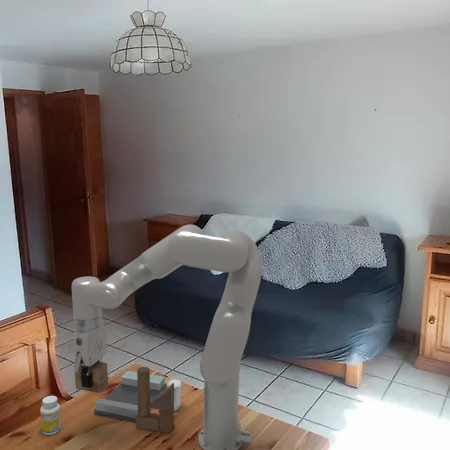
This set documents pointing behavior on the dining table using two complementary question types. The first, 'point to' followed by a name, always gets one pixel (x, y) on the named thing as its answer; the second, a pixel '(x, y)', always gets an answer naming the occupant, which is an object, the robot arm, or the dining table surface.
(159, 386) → the block
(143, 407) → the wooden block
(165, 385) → the vise base
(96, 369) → the walnut block
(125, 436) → the dining table surface
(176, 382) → the milkshake
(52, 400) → the supplement bottle
